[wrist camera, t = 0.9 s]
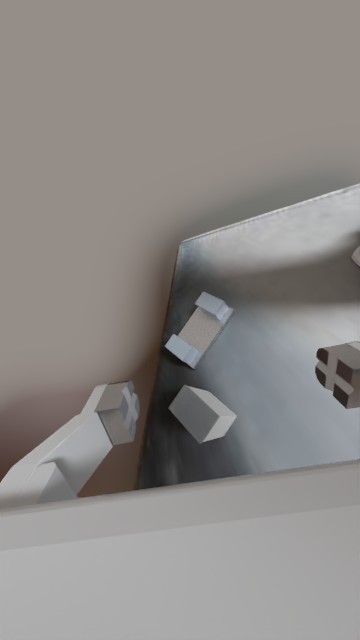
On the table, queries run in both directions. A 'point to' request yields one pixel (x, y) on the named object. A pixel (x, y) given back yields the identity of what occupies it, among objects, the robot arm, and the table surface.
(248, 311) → the table surface
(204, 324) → the grey flat base plate
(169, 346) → the mounted modules
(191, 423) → the block
